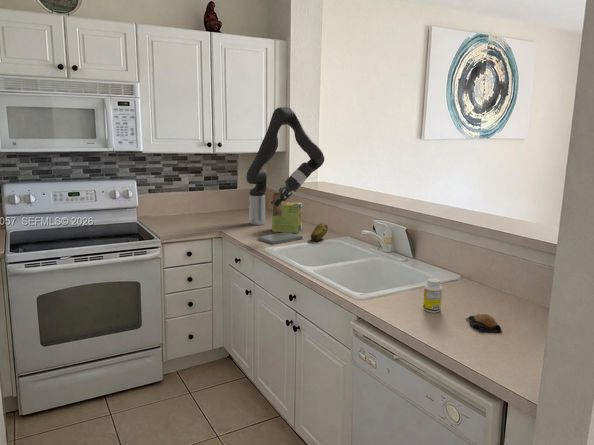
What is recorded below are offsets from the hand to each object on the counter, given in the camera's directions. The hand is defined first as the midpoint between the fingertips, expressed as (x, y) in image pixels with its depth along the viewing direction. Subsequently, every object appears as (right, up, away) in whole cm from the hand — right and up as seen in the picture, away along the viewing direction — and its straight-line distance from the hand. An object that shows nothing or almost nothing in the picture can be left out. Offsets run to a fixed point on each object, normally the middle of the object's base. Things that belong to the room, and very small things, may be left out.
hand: (273, 204), depth 245 cm
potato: (+23, -18, +6) cm, 30 cm away
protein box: (+6, -14, +27) cm, 31 cm away
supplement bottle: (+56, -38, -89) cm, 112 cm away
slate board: (+3, -18, +5) cm, 19 cm away
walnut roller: (+2, -5, +2) cm, 6 cm away
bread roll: (+68, -41, -101) cm, 128 cm away
